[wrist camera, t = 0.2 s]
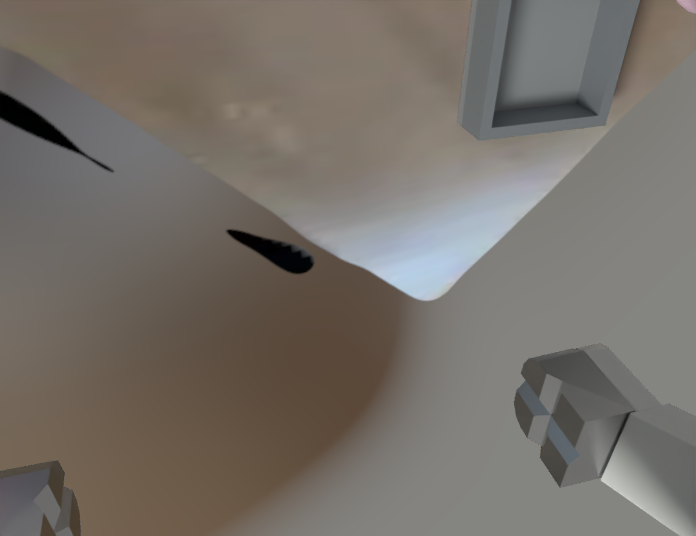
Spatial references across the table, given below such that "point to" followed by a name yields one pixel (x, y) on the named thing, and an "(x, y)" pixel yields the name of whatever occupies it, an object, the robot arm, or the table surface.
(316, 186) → the table surface
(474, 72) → the cartridge bin
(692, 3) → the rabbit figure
